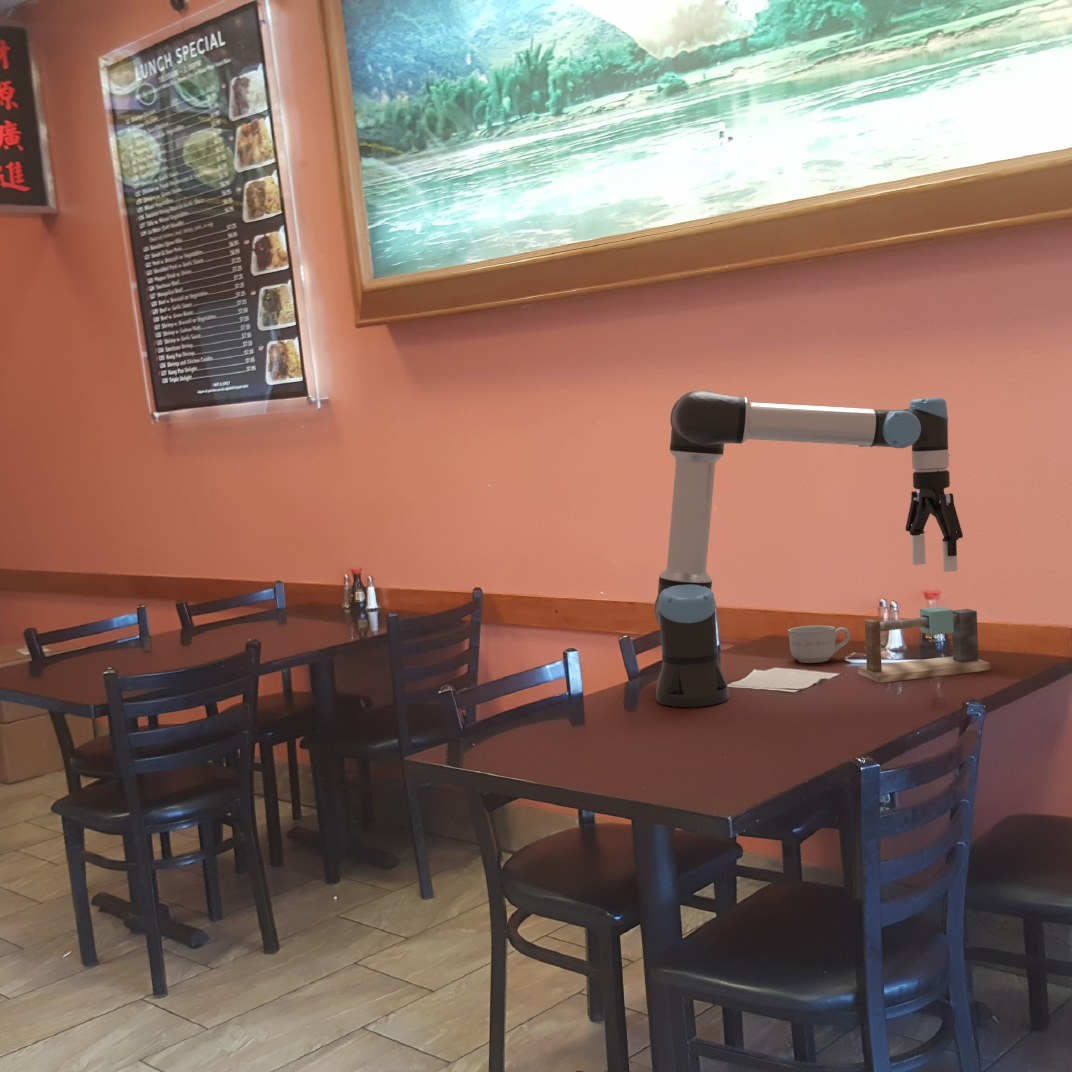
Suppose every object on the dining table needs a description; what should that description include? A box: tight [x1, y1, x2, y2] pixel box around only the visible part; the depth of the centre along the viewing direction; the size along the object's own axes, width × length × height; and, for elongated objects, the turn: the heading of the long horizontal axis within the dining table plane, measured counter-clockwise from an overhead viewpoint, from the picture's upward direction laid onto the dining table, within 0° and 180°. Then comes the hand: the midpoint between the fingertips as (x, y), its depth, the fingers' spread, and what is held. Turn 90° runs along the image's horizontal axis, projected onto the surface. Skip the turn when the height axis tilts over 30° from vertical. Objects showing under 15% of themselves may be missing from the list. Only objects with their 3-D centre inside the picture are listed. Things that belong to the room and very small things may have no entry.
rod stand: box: [857, 608, 992, 683], centre depth 261 cm, size 26×10×12 cm, turn 100°
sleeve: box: [919, 606, 954, 636], centre depth 261 cm, size 5×5×5 cm
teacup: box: [787, 625, 851, 664], centre depth 279 cm, size 14×11×8 cm
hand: (934, 567), depth 260 cm, fingers open, 13 cm apart
